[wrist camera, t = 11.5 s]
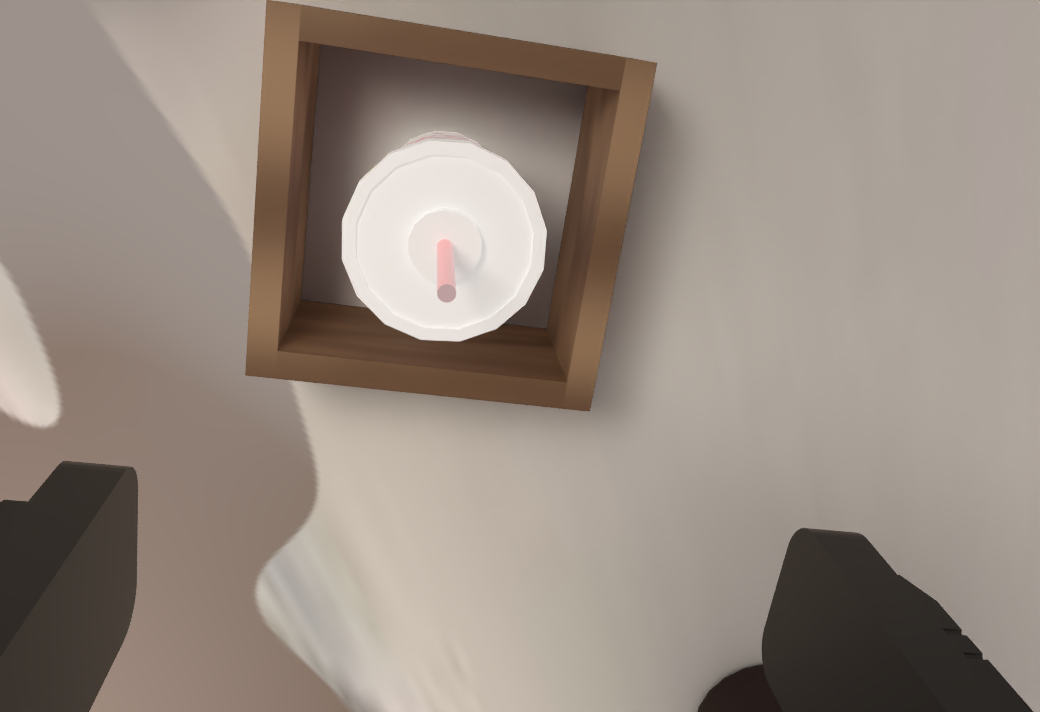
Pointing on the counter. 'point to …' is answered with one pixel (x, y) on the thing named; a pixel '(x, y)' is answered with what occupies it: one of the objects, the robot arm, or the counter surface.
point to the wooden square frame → (356, 330)
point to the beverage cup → (443, 239)
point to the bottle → (742, 694)
